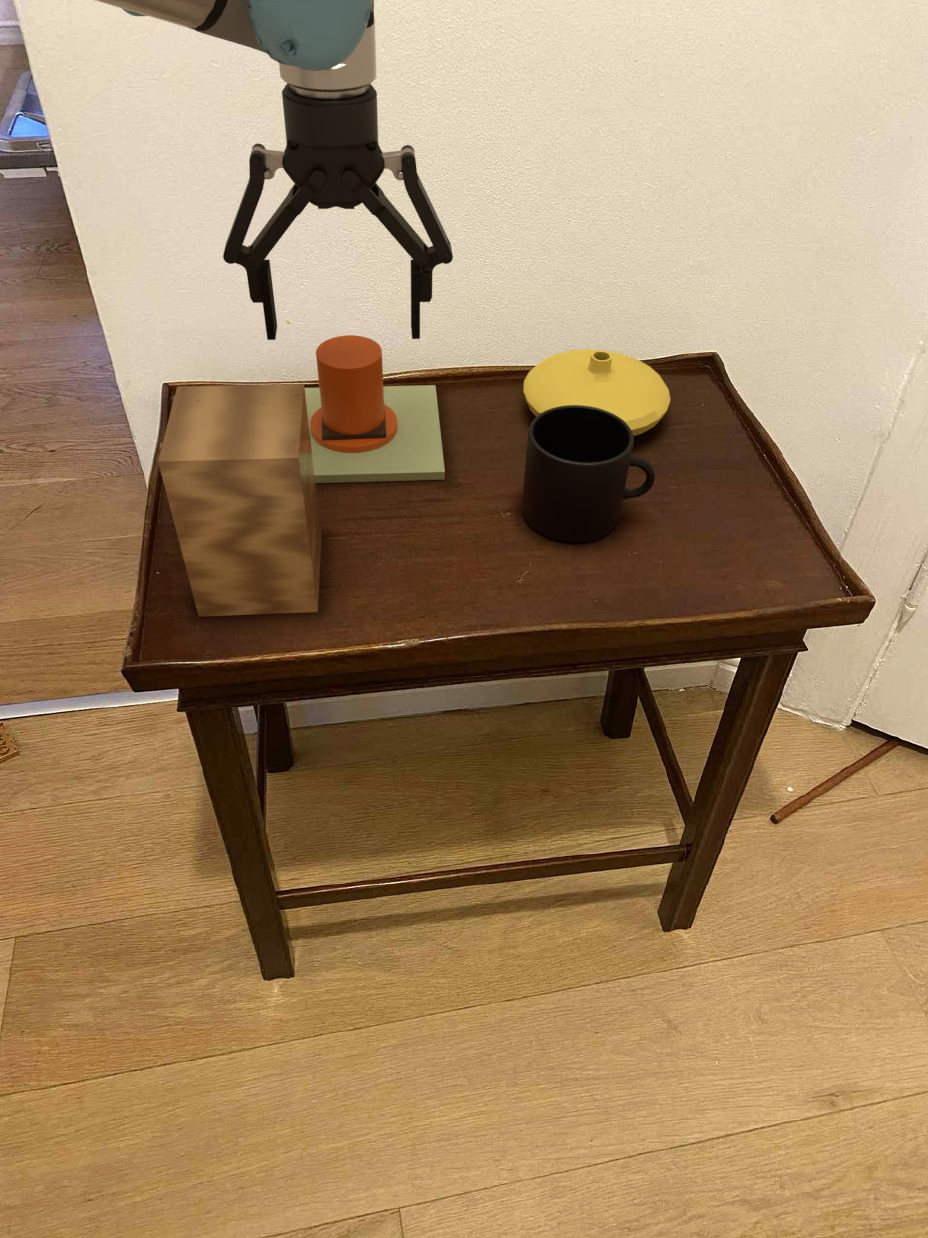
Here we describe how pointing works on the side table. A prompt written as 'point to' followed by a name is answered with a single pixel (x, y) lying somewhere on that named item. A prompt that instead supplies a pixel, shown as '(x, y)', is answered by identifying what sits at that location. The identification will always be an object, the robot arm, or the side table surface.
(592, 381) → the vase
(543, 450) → the mug
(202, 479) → the block
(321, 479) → the mat
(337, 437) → the hat
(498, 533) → the side table surface
